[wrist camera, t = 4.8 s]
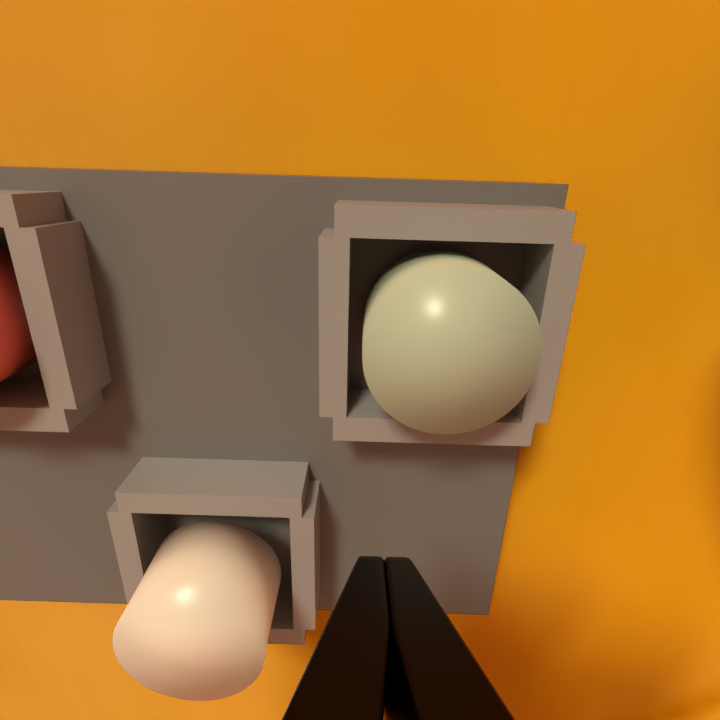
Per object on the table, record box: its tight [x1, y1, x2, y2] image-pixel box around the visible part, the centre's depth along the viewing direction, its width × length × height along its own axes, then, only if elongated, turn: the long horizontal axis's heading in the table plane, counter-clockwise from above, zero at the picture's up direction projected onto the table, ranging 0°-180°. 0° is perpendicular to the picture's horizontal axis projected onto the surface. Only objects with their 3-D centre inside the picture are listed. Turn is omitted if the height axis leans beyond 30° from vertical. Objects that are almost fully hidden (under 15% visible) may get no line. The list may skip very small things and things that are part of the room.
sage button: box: [362, 248, 542, 434], centre depth 13 cm, size 4×4×3 cm
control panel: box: [0, 166, 586, 645], centre depth 17 cm, size 21×17×5 cm
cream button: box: [113, 521, 281, 701], centre depth 15 cm, size 4×4×3 cm
